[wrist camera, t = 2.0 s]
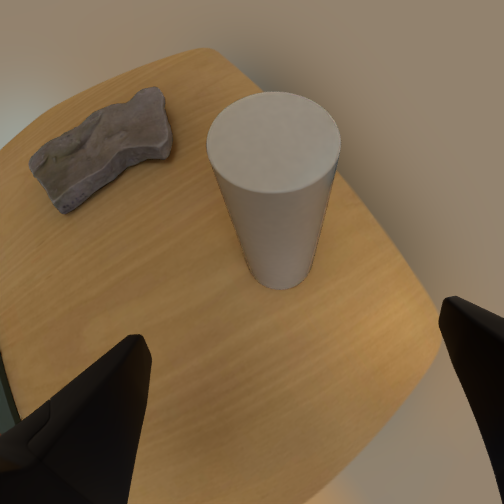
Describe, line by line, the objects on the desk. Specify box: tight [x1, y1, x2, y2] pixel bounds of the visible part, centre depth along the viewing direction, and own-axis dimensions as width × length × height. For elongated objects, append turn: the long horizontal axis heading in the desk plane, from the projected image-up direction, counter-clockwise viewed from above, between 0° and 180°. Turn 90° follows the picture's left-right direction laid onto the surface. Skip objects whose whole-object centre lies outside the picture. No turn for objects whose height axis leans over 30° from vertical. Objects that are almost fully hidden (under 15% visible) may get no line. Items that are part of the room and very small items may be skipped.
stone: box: [29, 87, 173, 214], centre depth 26 cm, size 15×10×4 cm, turn 114°
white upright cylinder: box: [206, 92, 341, 290], centre depth 16 cm, size 5×5×13 cm
